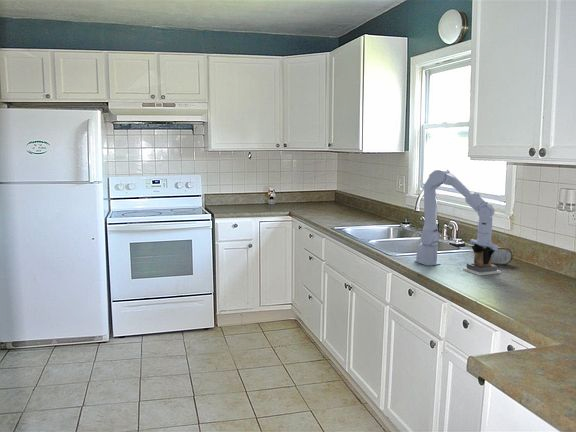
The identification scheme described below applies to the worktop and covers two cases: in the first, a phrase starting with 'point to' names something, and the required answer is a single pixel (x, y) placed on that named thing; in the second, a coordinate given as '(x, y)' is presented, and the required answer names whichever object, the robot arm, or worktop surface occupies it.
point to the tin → (501, 256)
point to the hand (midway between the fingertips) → (482, 262)
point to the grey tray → (481, 269)
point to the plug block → (480, 260)
